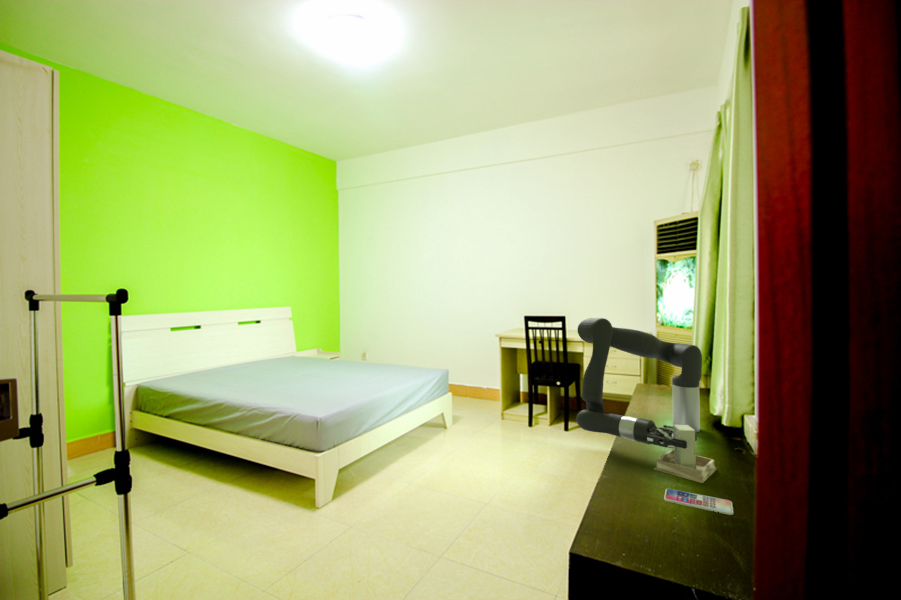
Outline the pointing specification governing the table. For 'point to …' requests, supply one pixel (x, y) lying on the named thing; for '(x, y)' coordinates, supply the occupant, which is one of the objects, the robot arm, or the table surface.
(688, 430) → the skincare box
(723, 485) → the table surface
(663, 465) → the wooden tray
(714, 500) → the smartphone
